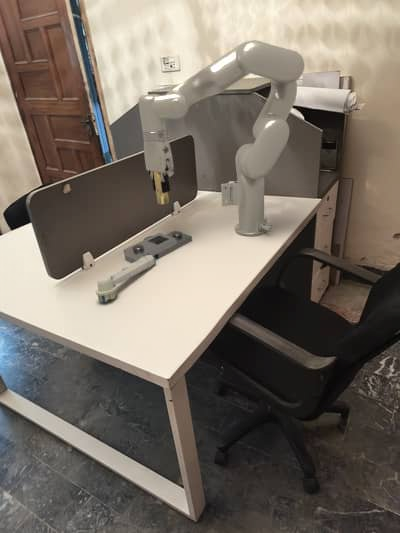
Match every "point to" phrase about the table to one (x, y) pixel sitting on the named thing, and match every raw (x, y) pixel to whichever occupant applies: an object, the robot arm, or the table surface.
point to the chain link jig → (157, 245)
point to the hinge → (229, 193)
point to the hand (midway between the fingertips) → (161, 190)
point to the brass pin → (160, 189)
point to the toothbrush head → (122, 277)
